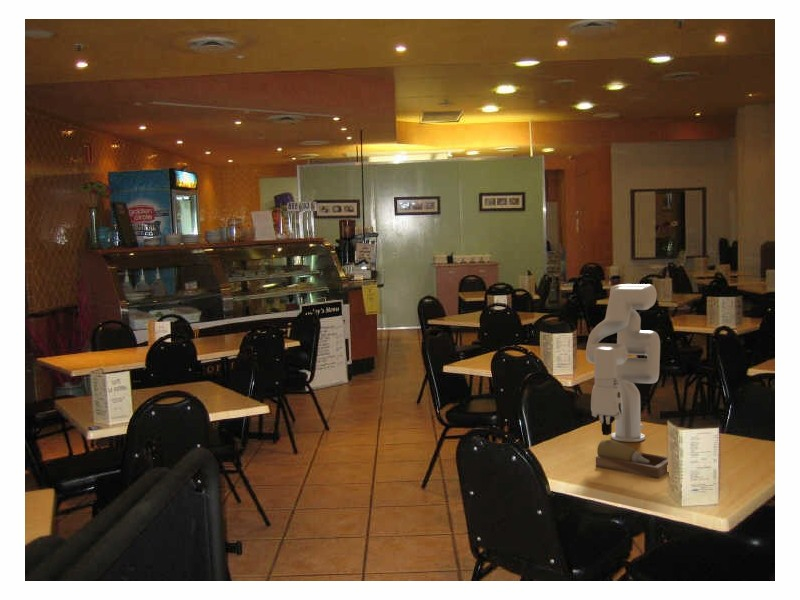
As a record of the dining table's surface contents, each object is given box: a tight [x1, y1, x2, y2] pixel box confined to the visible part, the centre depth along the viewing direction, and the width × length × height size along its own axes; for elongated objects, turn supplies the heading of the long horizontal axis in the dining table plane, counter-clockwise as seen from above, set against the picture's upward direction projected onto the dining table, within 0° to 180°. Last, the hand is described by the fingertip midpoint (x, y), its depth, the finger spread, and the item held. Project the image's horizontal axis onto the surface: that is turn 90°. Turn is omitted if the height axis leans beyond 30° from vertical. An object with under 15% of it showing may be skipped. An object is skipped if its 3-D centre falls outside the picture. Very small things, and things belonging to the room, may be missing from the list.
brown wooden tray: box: [595, 451, 669, 480], centre depth 256 cm, size 13×22×4 cm, turn 48°
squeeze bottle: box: [596, 439, 650, 464], centre depth 258 cm, size 8×8×18 cm
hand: (606, 434), depth 262 cm, fingers closed
